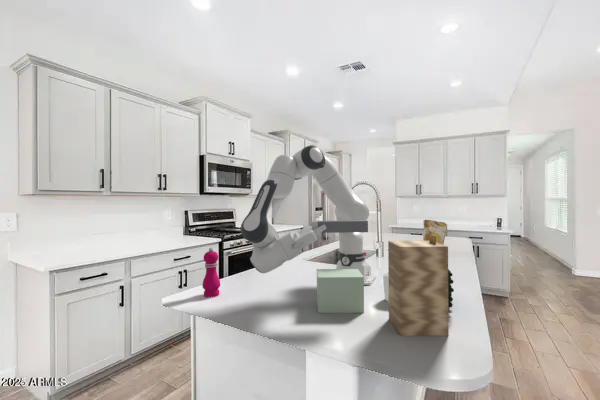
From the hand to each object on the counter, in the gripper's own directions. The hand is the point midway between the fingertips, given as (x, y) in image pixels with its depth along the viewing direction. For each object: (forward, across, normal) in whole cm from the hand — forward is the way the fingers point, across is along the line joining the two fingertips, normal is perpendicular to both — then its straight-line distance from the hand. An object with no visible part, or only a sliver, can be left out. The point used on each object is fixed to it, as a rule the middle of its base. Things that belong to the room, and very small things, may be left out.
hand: (325, 225), depth 111 cm
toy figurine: (+22, +6, +48) cm, 54 cm away
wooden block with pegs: (+8, -16, +40) cm, 44 cm away
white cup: (+8, +8, +40) cm, 42 cm away
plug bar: (+3, 0, +5) cm, 6 cm away
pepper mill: (-56, +16, +3) cm, 58 cm away
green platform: (-11, +2, +29) cm, 31 cm away
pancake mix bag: (+34, +44, +55) cm, 79 cm away
